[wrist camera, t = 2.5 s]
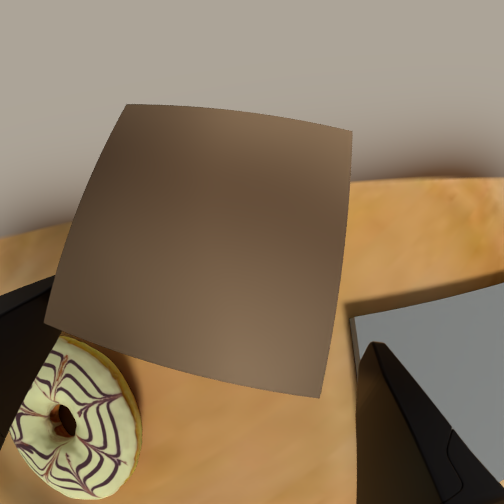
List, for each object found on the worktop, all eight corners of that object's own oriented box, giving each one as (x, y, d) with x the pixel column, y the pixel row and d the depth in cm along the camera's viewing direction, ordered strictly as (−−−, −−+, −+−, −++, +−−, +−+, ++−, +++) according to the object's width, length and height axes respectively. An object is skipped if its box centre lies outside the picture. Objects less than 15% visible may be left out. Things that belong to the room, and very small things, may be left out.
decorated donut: (19, 441, 15) (-12, 448, 11) (40, 316, 18) (6, 307, 14) (135, 508, 14) (113, 533, 10) (167, 372, 17) (146, 378, 13)
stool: (274, 360, 17) (319, 397, 5) (185, 341, 17) (44, 323, 5) (291, 273, 18) (352, 131, 6) (205, 256, 19) (126, 104, 6)
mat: (527, 455, 13) (534, 456, 12) (364, 536, 13) (368, 542, 12) (520, 278, 18) (527, 275, 17) (349, 318, 18) (354, 317, 17)
